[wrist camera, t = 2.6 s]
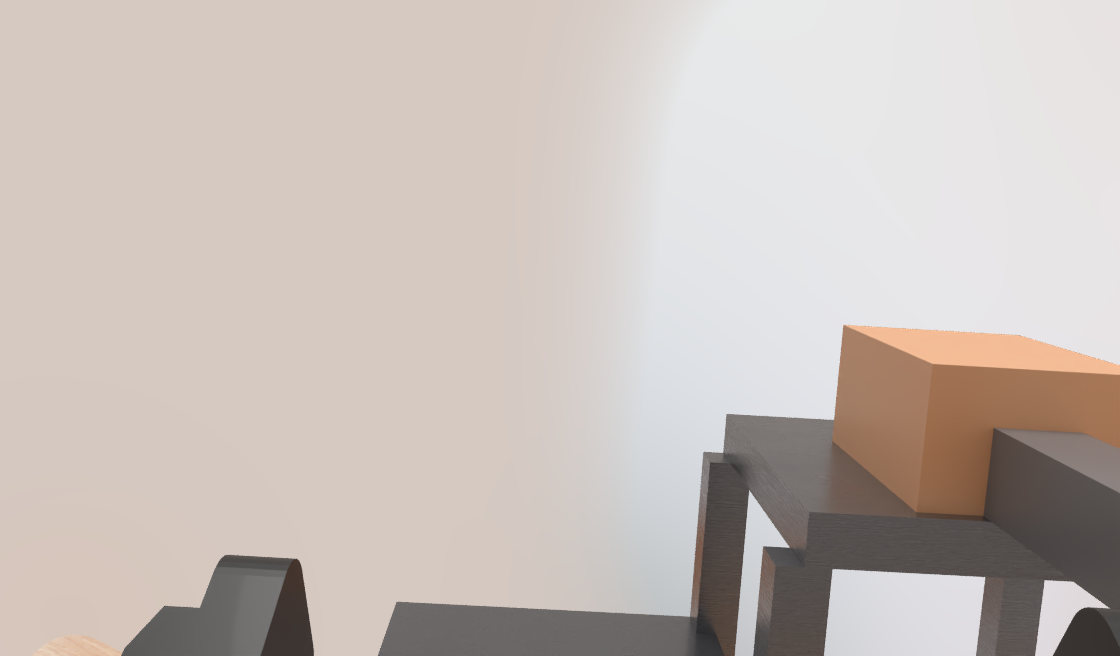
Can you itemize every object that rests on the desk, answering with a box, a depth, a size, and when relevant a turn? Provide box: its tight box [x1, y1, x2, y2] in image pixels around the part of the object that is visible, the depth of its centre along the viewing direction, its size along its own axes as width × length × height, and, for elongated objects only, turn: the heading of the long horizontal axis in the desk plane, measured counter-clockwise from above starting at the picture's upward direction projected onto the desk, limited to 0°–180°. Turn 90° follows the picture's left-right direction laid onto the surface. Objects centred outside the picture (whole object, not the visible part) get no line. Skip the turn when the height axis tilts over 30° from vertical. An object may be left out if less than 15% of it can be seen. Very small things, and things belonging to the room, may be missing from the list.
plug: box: [832, 325, 1120, 609], centre depth 27 cm, size 17×6×4 cm, turn 1°
